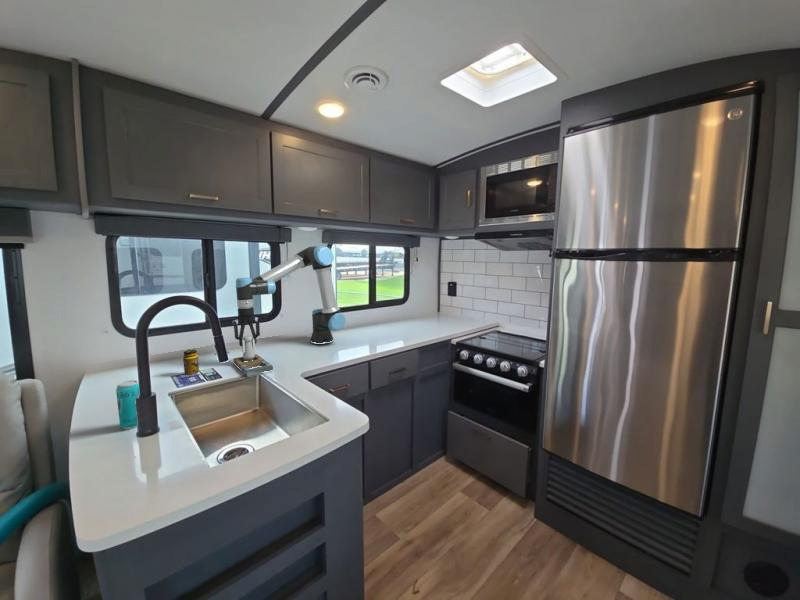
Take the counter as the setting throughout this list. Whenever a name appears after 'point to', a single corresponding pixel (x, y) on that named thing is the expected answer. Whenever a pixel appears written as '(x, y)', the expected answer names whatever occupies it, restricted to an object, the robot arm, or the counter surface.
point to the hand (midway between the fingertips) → (248, 350)
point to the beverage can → (127, 403)
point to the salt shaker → (248, 349)
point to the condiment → (190, 362)
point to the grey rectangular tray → (253, 365)
